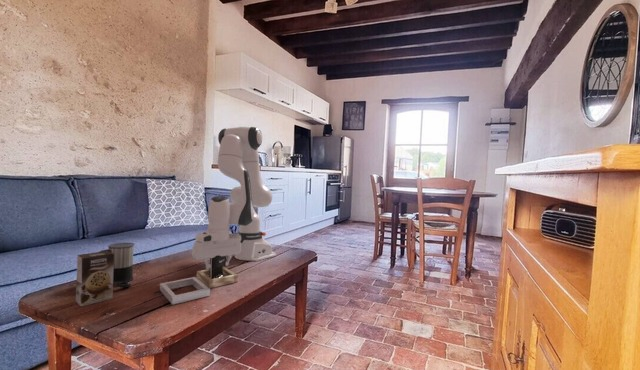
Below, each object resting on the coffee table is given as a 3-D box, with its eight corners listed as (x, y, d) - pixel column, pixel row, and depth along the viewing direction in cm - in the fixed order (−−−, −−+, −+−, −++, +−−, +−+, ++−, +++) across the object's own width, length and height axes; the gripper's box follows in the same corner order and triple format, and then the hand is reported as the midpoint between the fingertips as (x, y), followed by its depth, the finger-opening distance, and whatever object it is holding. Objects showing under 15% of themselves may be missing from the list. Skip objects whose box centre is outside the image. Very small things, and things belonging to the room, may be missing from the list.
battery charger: (216, 283, 122) (217, 256, 121) (208, 282, 123) (209, 254, 123) (226, 278, 128) (227, 252, 128) (219, 276, 130) (220, 251, 129)
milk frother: (123, 275, 126) (124, 241, 126) (150, 281, 121) (151, 245, 121) (87, 286, 113) (88, 248, 113) (117, 293, 108) (118, 253, 107)
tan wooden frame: (223, 272, 135) (223, 266, 135) (237, 282, 124) (237, 275, 124) (196, 278, 127) (196, 271, 127) (209, 288, 116) (209, 280, 116)
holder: (194, 282, 121) (194, 276, 121) (209, 295, 109) (210, 289, 109) (159, 290, 113) (160, 283, 112) (172, 304, 101) (172, 297, 101)
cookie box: (81, 307, 96) (82, 258, 96) (75, 301, 100) (76, 254, 99) (113, 298, 103) (114, 253, 103) (106, 293, 107) (108, 249, 107)
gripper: (237, 231, 134) (236, 261, 135) (191, 235, 120) (190, 269, 121) (244, 233, 130) (243, 264, 130) (196, 238, 116) (195, 273, 116)
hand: (217, 266), depth 125 cm, fingers closed on battery charger, 6 cm apart
